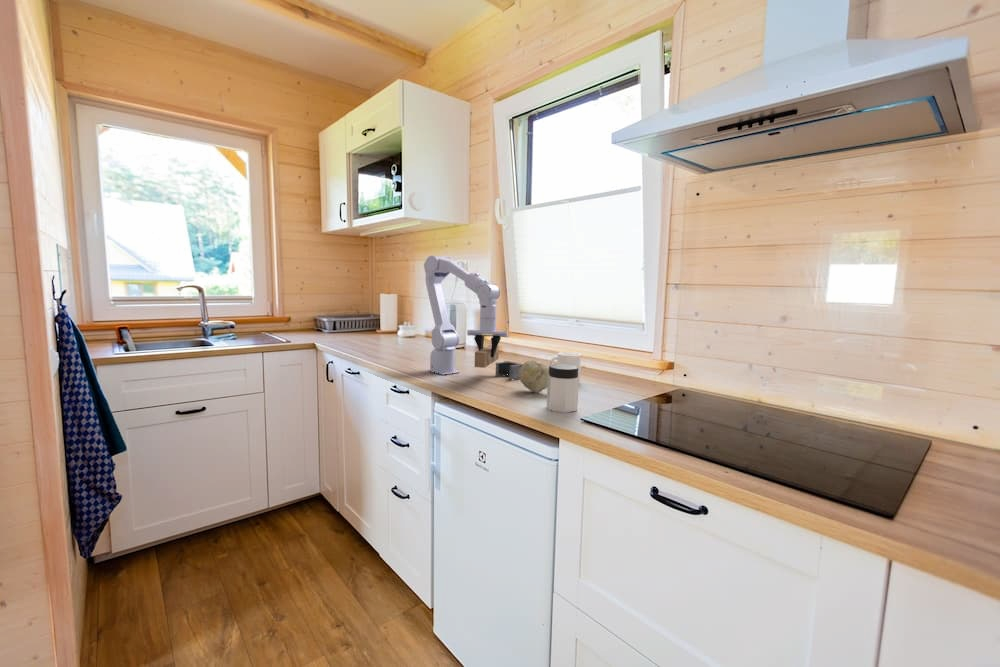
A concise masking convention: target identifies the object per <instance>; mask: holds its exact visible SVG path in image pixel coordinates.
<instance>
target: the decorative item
mask: <svg viewBox="0 0 1000 667" xmlns="http://www.w3.org/2000/svg"><path fill="white" fill-rule="evenodd" d="M522 364H523V365H522V366H521V368H520V370H519V379H518V380H520V382H521V384H522V385H523V386H524V387H525V388H526V389H528V390H529V391H531V392H532V393H534V394H539V393H541V392H542V391H544V390H545V389H547V388H548V374H549V366H550V364H545V363H542V362H538V361H536V360H528V361H526V362H523V363H522Z"/></svg>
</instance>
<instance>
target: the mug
mask: <svg viewBox="0 0 1000 667" xmlns="http://www.w3.org/2000/svg"><path fill="white" fill-rule="evenodd" d="M581 358H582V354H581V353H578V352H573V351H561V352H560V351H559V352H557V355H554V356H553V357H552V358H551V359H550V361H549V366H550V365H553V364H554V362H555V361H556V364H567V365H573V366H577V367H578V378H579V382H580V378H581V361H582V360H581Z"/></svg>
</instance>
